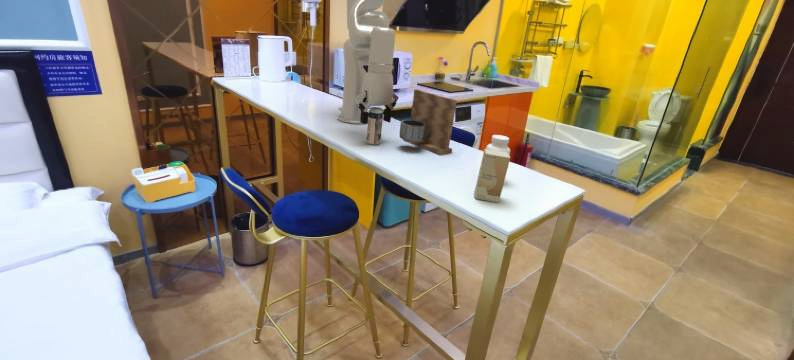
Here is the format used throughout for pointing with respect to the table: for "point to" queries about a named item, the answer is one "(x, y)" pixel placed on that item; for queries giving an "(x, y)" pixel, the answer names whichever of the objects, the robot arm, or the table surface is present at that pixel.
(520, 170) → the table surface
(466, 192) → the table surface
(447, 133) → the cup bracket
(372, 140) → the beer can
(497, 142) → the supplement bottle
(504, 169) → the skincare box
